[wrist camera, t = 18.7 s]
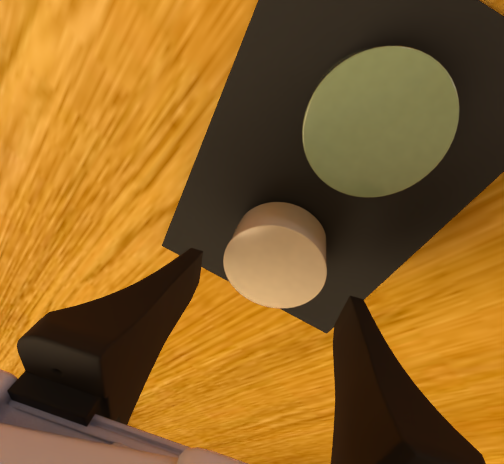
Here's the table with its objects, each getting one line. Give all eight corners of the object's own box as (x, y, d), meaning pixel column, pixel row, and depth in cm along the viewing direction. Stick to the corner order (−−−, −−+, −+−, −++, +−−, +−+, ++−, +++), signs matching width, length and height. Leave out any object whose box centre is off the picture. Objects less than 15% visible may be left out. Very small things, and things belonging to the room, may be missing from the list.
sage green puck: (466, 88, 12) (500, 98, 10) (377, 192, 15) (387, 220, 13) (353, 18, 12) (360, 11, 9) (285, 139, 15) (277, 157, 12)
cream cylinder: (340, 214, 16) (343, 244, 14) (310, 285, 19) (308, 320, 17) (245, 188, 17) (231, 211, 14) (230, 261, 20) (216, 291, 17)
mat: (595, 80, 12) (603, 81, 11) (326, 329, 21) (326, 333, 21) (304, -110, 11) (303, -115, 10) (164, 242, 20) (161, 245, 20)
